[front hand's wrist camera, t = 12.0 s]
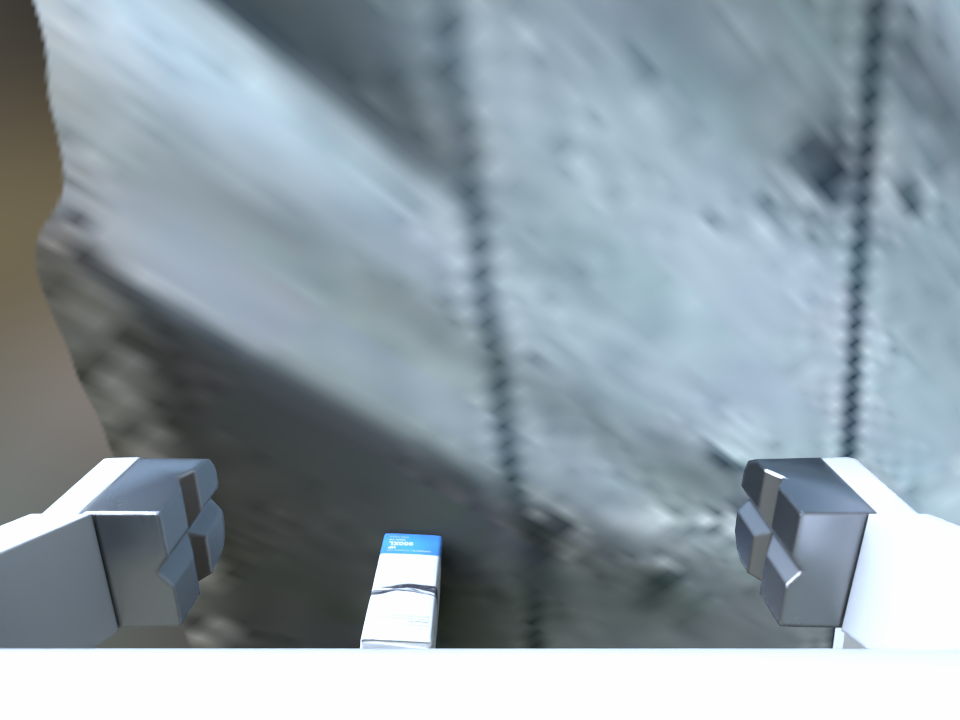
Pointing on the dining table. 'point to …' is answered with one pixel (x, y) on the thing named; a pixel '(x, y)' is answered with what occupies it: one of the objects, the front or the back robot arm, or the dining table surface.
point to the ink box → (405, 594)
